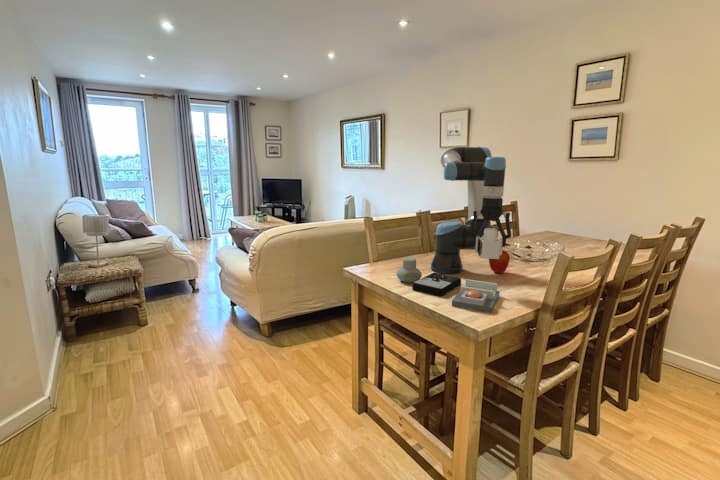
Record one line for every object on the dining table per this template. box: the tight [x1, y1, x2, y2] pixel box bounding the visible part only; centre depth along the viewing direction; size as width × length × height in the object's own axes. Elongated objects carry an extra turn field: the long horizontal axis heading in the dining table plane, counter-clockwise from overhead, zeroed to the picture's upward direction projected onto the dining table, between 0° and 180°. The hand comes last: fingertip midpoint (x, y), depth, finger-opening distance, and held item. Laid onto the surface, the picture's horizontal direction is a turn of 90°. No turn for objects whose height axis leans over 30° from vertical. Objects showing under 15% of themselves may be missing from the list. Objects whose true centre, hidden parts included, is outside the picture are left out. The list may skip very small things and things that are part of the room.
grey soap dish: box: [451, 278, 500, 314], centre depth 142 cm, size 14×19×5 cm
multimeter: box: [412, 272, 462, 298], centre depth 157 cm, size 13×19×5 cm
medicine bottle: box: [477, 226, 501, 260], centre depth 150 cm, size 7×7×12 cm
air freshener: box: [396, 257, 422, 284], centre depth 165 cm, size 11×8×10 cm
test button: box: [467, 290, 481, 299], centre depth 137 cm, size 5×5×2 cm
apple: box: [488, 249, 511, 274], centre depth 178 cm, size 9×9×12 cm
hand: (488, 253), depth 151 cm, fingers closed on medicine bottle, 8 cm apart
